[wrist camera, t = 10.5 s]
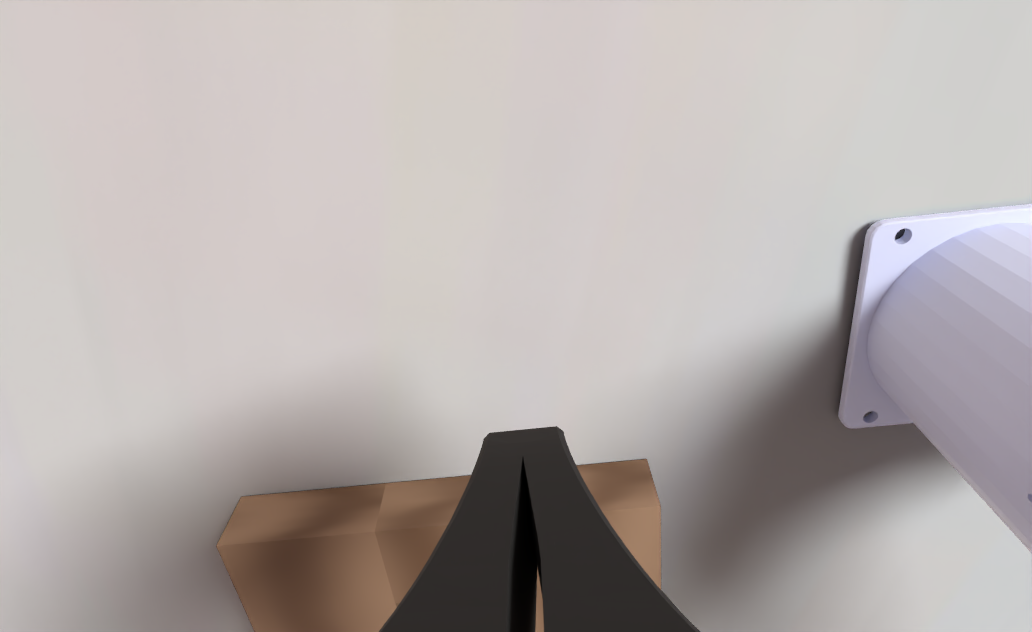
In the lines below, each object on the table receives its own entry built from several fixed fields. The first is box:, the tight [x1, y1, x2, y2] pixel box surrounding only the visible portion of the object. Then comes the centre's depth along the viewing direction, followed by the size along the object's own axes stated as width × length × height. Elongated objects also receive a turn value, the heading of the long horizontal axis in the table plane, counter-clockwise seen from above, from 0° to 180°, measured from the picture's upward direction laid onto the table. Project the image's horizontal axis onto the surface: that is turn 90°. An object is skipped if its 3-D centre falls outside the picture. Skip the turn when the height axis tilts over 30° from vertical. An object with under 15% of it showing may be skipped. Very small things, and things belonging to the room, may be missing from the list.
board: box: [216, 459, 661, 632], centre depth 27 cm, size 16×12×2 cm
